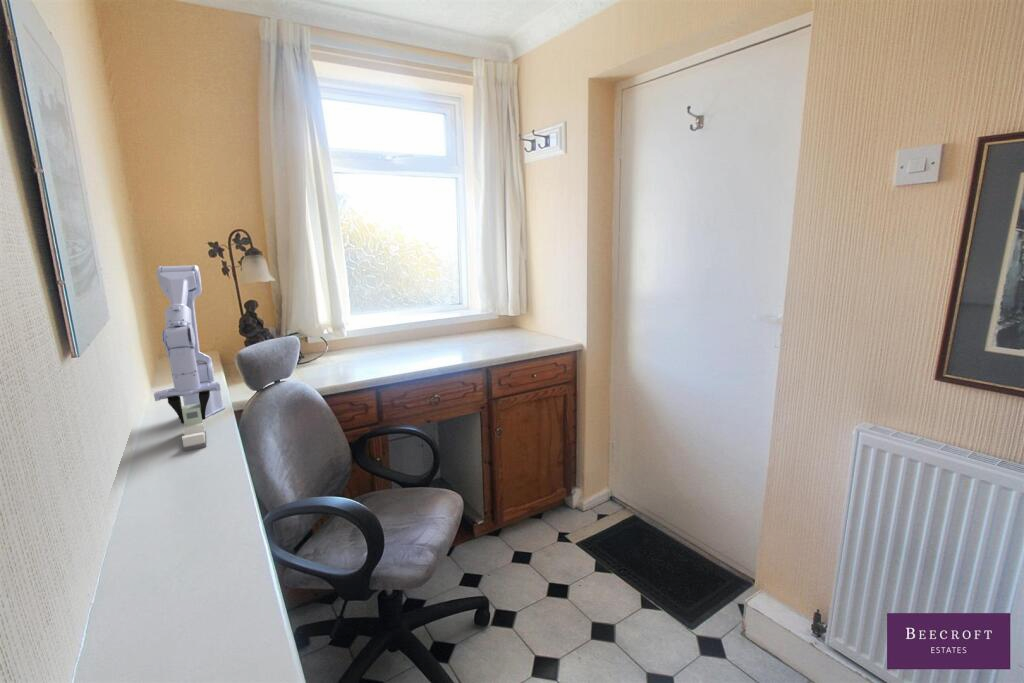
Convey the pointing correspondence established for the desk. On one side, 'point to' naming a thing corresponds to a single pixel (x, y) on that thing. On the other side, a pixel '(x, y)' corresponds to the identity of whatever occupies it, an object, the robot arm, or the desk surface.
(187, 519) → the desk surface
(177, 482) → the desk surface
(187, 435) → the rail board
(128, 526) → the desk surface
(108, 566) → the desk surface
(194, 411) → the sage module
